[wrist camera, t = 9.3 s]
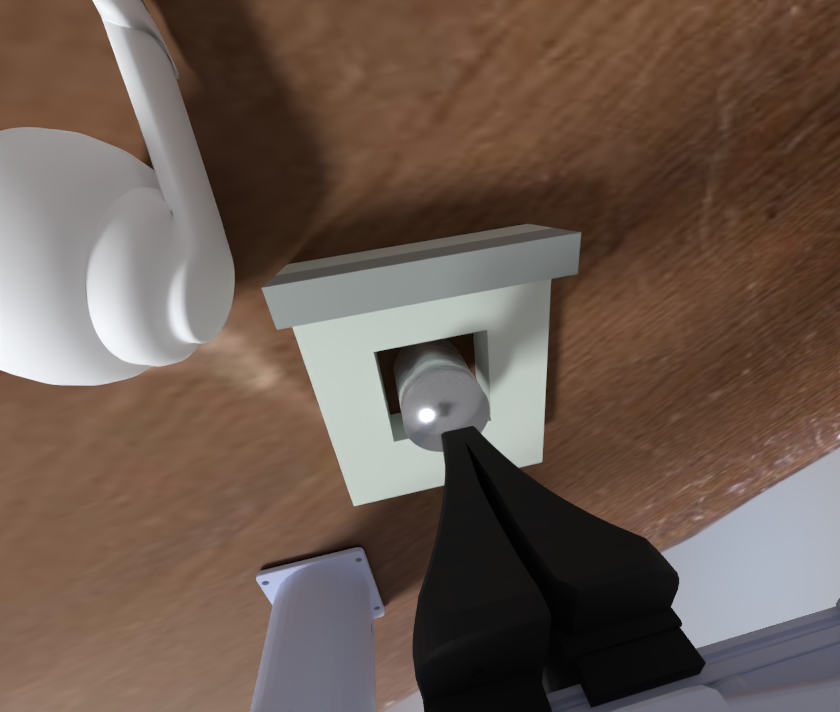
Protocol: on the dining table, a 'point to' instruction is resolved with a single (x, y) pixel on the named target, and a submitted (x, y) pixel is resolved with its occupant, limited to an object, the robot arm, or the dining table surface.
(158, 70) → the headphones
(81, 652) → the dining table surface
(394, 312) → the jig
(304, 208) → the dining table surface
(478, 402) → the peg
